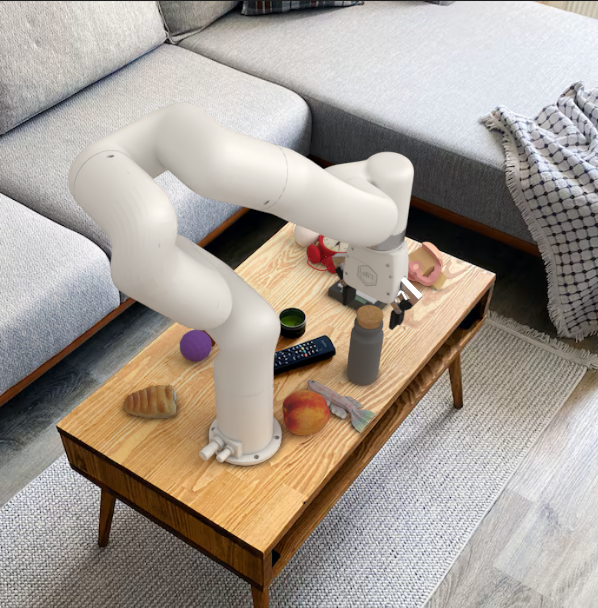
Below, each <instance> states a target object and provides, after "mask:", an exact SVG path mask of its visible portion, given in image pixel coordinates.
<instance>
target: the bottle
mask: <svg viewBox="0 0 598 608" xmlns="http://www.w3.org/2000/svg"><path fill="white" fill-rule="evenodd" d="M384 315H385V314H384V312H383V309H382V310H381V309H380V308H378V307H376V306H373V305H366V306H362V307H360V308H359V309H358V310H356V316H355V317H354V320H353V326H352V328H351V331H350V335H349V336H350V337H349V346H348V354H347V355H348V356H347V362H346V363H347V365H346V377H347V379H348V380H349V381H350V382H351V383H352V384H355V385H358V386H368V385H372V384H373V383H375V382H376V380H377V378H378V375H379V370H380V363H381V356H382V350H383V344H384V337H385V333H384V330H383V329H384V320H383V319H384V317H385V316H384Z"/></svg>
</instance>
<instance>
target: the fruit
mask: <svg viewBox="0 0 598 608" xmlns="http://www.w3.org/2000/svg"><path fill="white" fill-rule="evenodd" d="M281 406H282V407H281V408H282V414H283V425H284V427H285V428H286V429H287V430H288V431H289V432H291V433H293V434H294V435H298V436H311V435H313V434H316V433H319V432H320V431H321V430H323V428H324V427H325V426H326V425H327V424H328V422H330V418H331V411H330V409H329V408H328V407H327V402H326V401H325V399H324V398H323V397H322V396H321V395H320V394H318V393H316V392H313V391H309V389H308V390H307V389H299V390H295V391H293V392H291V393H290V394H289V395H286V397H285V398H284V400H283V401H282V405H281Z"/></svg>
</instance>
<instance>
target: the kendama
mask: <svg viewBox="0 0 598 608" xmlns="http://www.w3.org/2000/svg"><path fill="white" fill-rule="evenodd" d="M215 345H217V344H216V342H215V341H214V340H213V338H212V337H211V336H210V335H209V334H208V333H207V332H206V331H205V330H195V329H191V330H189V331H187V332H185V333H184V334H183V335H182V337H181V339H180V341H179V352H180V354H181V356H182V357H183V358H184V359H186V360H187V361H190V362H193V363H198V362H202V361H204V360H206V359H207V358H208V357H209V356H210V355H211V351H212V350H213V347H215Z"/></svg>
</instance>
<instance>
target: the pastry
mask: <svg viewBox="0 0 598 608" xmlns="http://www.w3.org/2000/svg"><path fill="white" fill-rule="evenodd" d="M176 399H177V392H176V390H175V388H174V386H173V385H172V384H167V385H165V384H157V385H149V386H147V387H144V388H142V389H139V390H136V391H134V392H131V393H130V394H128V395H127V396H126V397H125V398H124V401H123V405H122V406H123V407H122V408H123V410H125V412H126V413H128V414H129V415H131V416H136V417H141V418H144V419H169V418H172V417H174V416H175V415H176V414H177V404H176Z"/></svg>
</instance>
